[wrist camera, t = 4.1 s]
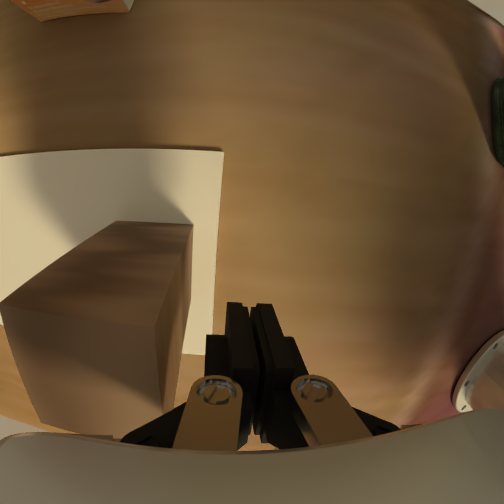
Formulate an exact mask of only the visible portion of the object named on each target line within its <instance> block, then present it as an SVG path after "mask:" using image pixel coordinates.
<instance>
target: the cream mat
mask: <svg viewBox="0 0 504 504" xmlns="http://www.w3.org/2000/svg"><path fill="white" fill-rule="evenodd" d="M223 159H224V152H217V151H200V150H179V149H88V150H68V151H53V152H40V153H30V154H20V155H11V156H3V157H0V302H1V301H2V300H4V299H5V298H6V297H7V296H9V295H10V294H11V293H12V292H14V291H15V290H16V289H17V288H19V287H20V286H21V285H23V284H24V283H25V282H27V281H28V280H29V279H31V278H32V277H33V276H35V275H36V274H37V273H39V272H40V271H42V270H43V269H44V268H46V267H47V266H48V265H50V264H51V263H53V262H54V261H56V260H57V259H58V258H60V257H61V256H63V255H64V254H66V253H67V252H69V251H70V250H71V249H73V248H74V247H76V246H77V245H79V244H80V243H82V242H83V241H85V240H87V239H88V238H90V237H91V236H93V235H94V234H96V233H97V232H99V231H100V230H102V229H104V228H105V227H107V226H108V225H110V224H112V223H113V222H115V221H138V222H158V223H176V224H193V225H194V228H193V250H192V280H191V302H190V308H189V313H188V319H187V325H186V330H185V336H184V342H183V348H182V353H183V354H198V355H205V347H206V334H210V335H212V326H213V304H214V284H215V267H216V250H217V235H218V221H219V207H220V194H221V182H222V170H223ZM0 324H1V325H3V321H2V317H1V313H0Z"/></svg>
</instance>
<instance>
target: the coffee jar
mask: <svg viewBox="0 0 504 504" xmlns="http://www.w3.org/2000/svg"><path fill="white" fill-rule="evenodd" d="M492 116H493V135H494V147H495V151H496V155H497V157H498V159H499V161H500V163H501V165H502V166H503V167H504V77H501V78H498V79H497V80H496V81H495V83H494V85H493V89H492Z"/></svg>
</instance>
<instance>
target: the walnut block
mask: <svg viewBox="0 0 504 504" xmlns="http://www.w3.org/2000/svg"><path fill="white" fill-rule="evenodd" d="M193 228H194V225H193V224H176V223H158V222H138V221H115V222H113V223H112V224H110V225H108V226H107V227H105V228H104V229H102V230H100V231H99V232H97V233H96V234H94V235H93V236H91V237H90V238H88V239H87V240H85V241H83V242H82V243H80V244H79V245H77V246H76V247H74V248H73V249H71V250H70V251H69V252H67V253H66V254H64V255H63V256H61V257H60V258H58V259H57V260H56V261H54V262H53V263H51V264H50V265H48V266H47V267H46V268H44V269H43V270H42V271H40V272H39V273H37V274H36V275H35V276H33V277H32V278H31V279H29V280H28V281H27V282H25V283H24V284H23V285H21V286H20V287H19V288H17V289H16V290H15V291H14V292H12V293H11V294H10V295H9V296H7V297H6V298H5V299H4V300H2V301H1V302H0V313H1V317H2V321H3V325H4V328H5V332H6V335H7V338H8V342H9V345H10V348H11V351H12V354H13V357H14V360H15V362H16V365H17V368H18V371H19V373H20V376H21V378H22V381H23V383H24V386H25V388H26V391H27V393H28V395H29V398H30V400H31V402H32V404H33V406H34V409H35V411H36V413H37V415H38V417H39V419H40V421H41V423H44V424H47V425H51V426H54V427H57V428H61V429H64V430H68V431H72V432H76V433H79V434H86V435H113V437H114V438H123V437H124V436H125V435H126V434H128V433H129V432H131V431H133V430H135V429H137V428H139V427H141V426H143V425H145V424H147V423H148V422H150V421H152V420H154V419H156V418H158V417H160V416H162V415H163V414H165V413H167V412H169V411H171V410H173V408H174V400H175V393H176V386H177V380H178V373H179V367H180V360H181V354H182V348H183V342H184V336H185V330H186V325H187V319H188V313H189V308H190V302H191V280H192V250H193Z"/></svg>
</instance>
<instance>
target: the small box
mask: <svg viewBox="0 0 504 504" xmlns="http://www.w3.org/2000/svg"><path fill="white" fill-rule="evenodd" d="M10 1H12V2H13V3H15V4H16V5H17V6H19V7H20V8H22V9H23V10H25V11H26V12H28V13H29V14H30V15H32V16H33V17H35V18H36V19H37V20H39V21H41V22H42V21H46V20H51V19H55V18H61V17H68V16H76V15H85V14H97V13H113V12H118V13H120V12H129V11H130V9H131V7H132V4H133V2H134V0H10Z"/></svg>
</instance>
